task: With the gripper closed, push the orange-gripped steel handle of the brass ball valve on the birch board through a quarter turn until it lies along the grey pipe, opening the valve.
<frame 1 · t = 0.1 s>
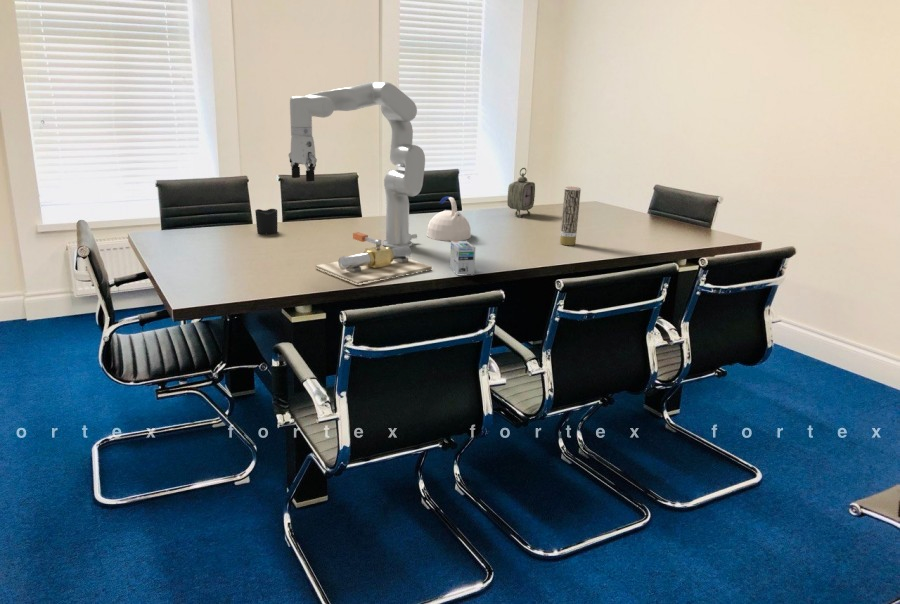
hand: (303, 179, 254), 31 cm above the table, fingers open, 9 cm apart
pen holder: (267, 233, 306), on the table
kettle: (448, 236, 313), on the table
valve handle: (367, 239, 256), point 10 cm above the table, hinge at 0.0°
light bulb box: (461, 272, 257), on the table
valve board: (374, 269, 255), on the table
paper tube: (567, 244, 305), on the table
pipe and valve: (378, 269, 255), resting on valve board
tabletop clock: (519, 215, 364), on the table
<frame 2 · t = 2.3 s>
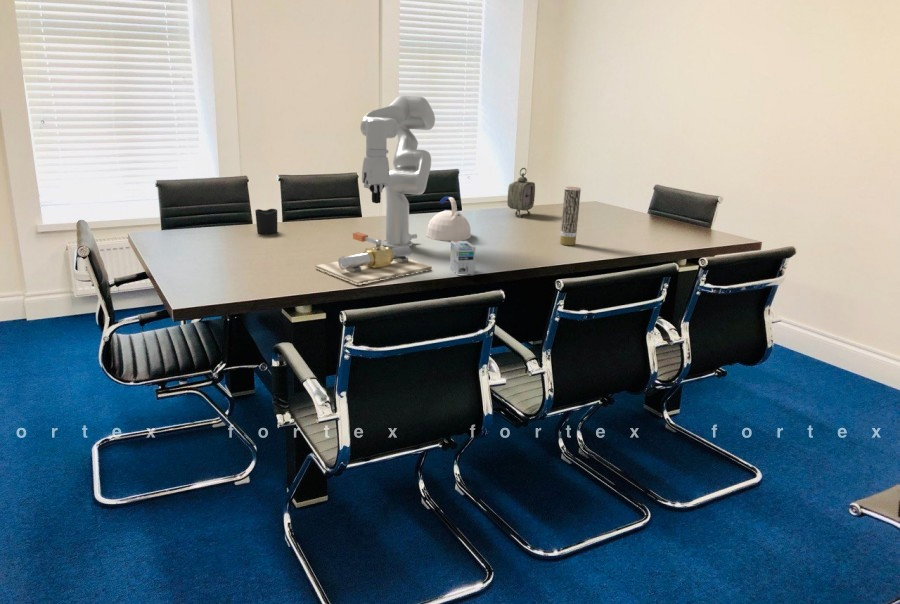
hand: (376, 202, 260), 23 cm above the table, fingers closed
nothing on the table moved.
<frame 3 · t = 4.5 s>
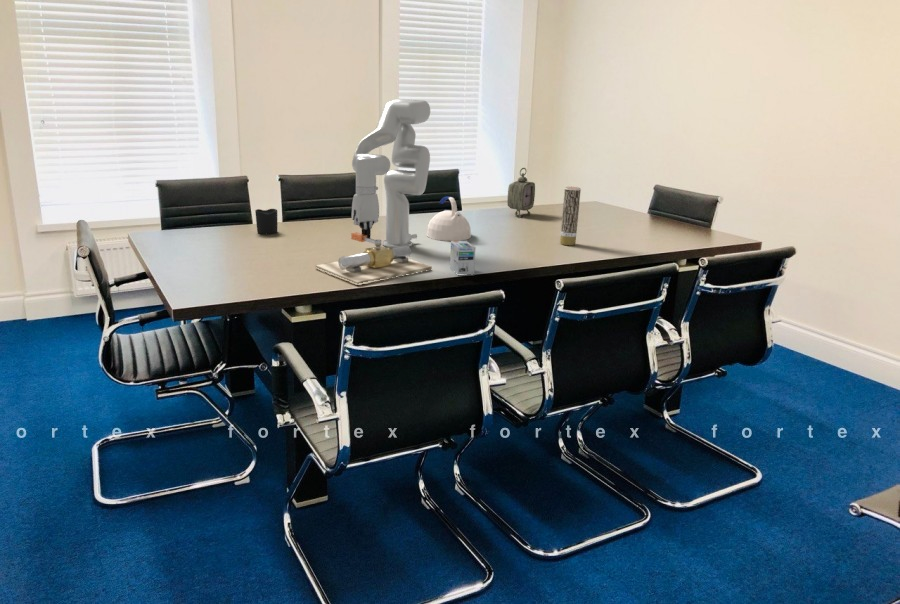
hand: (366, 238, 262), 9 cm above the table, fingers closed
valve handle: (366, 239, 256), point 10 cm above the table, hinge at 3.1°, touching gripper
everything else where it was.
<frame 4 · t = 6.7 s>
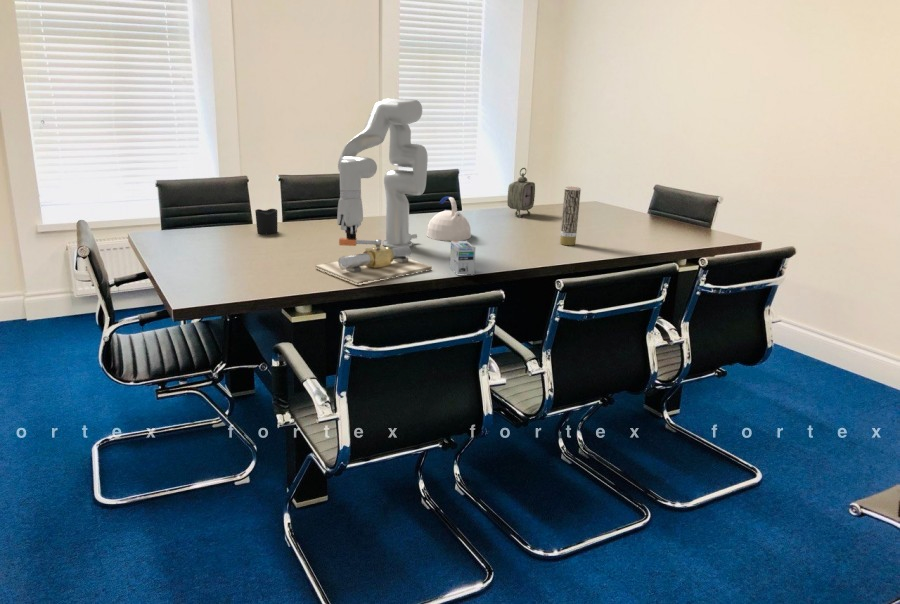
hand: (351, 243, 255), 9 cm above the table, fingers closed
valve handle: (360, 242, 252), point 10 cm above the table, hinge at 48.2°, touching gripper
everything else where it was.
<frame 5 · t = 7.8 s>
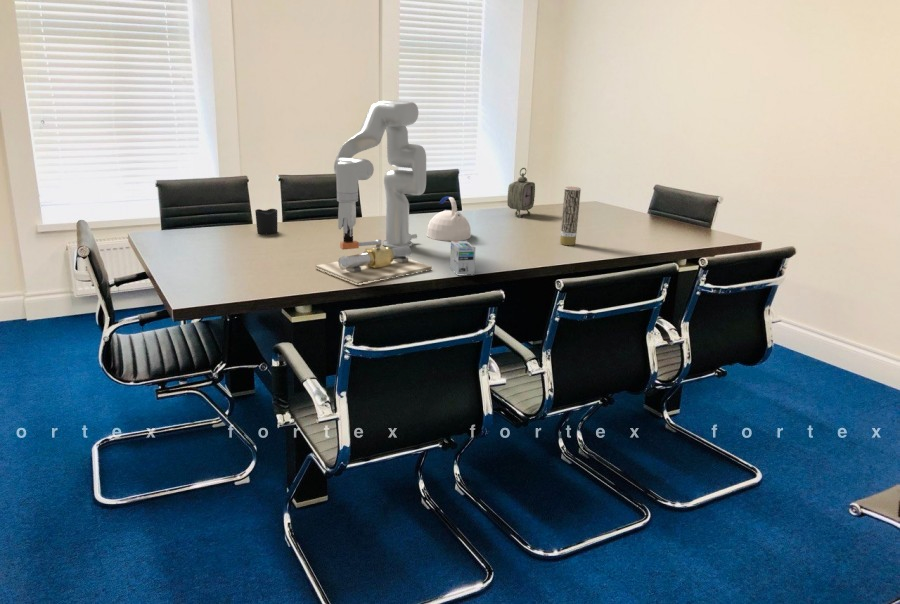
hand: (348, 246, 251), 9 cm above the table, fingers closed
valve handle: (361, 244, 249), point 10 cm above the table, hinge at 74.6°, touching gripper
everything else where it was.
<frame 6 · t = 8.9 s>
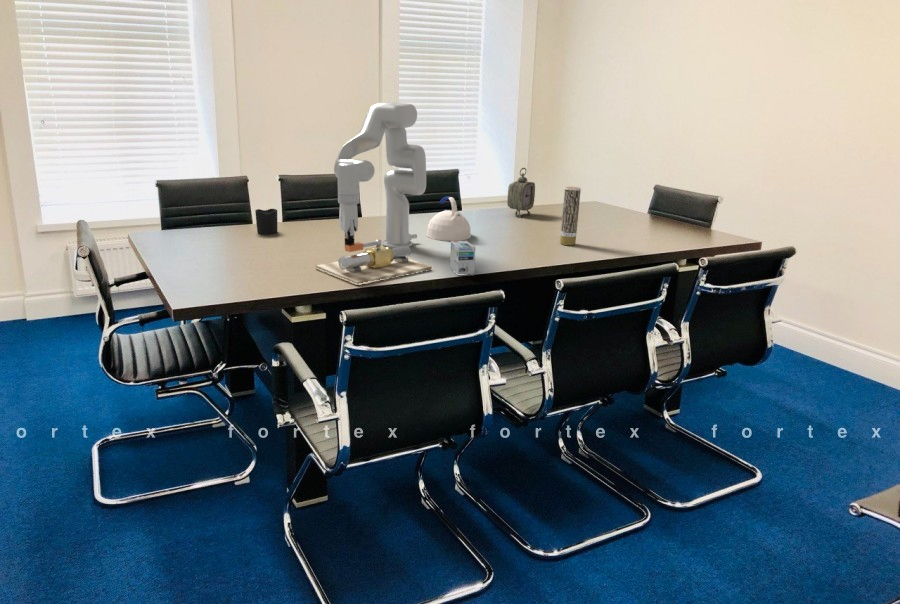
hand: (349, 248, 248), 9 cm above the table, fingers closed
valve handle: (364, 245, 248), point 10 cm above the table, hinge at 92.6°, touching gripper
everything else where it was.
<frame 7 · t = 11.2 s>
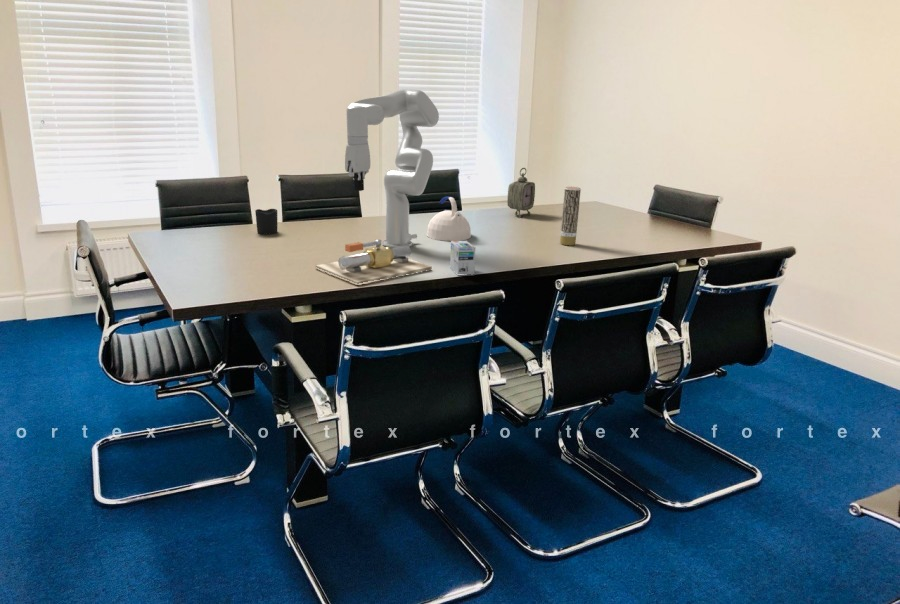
hand: (359, 190, 259), 27 cm above the table, fingers closed
valve handle: (364, 245, 248), point 10 cm above the table, hinge at 92.7°
everything else where it was.
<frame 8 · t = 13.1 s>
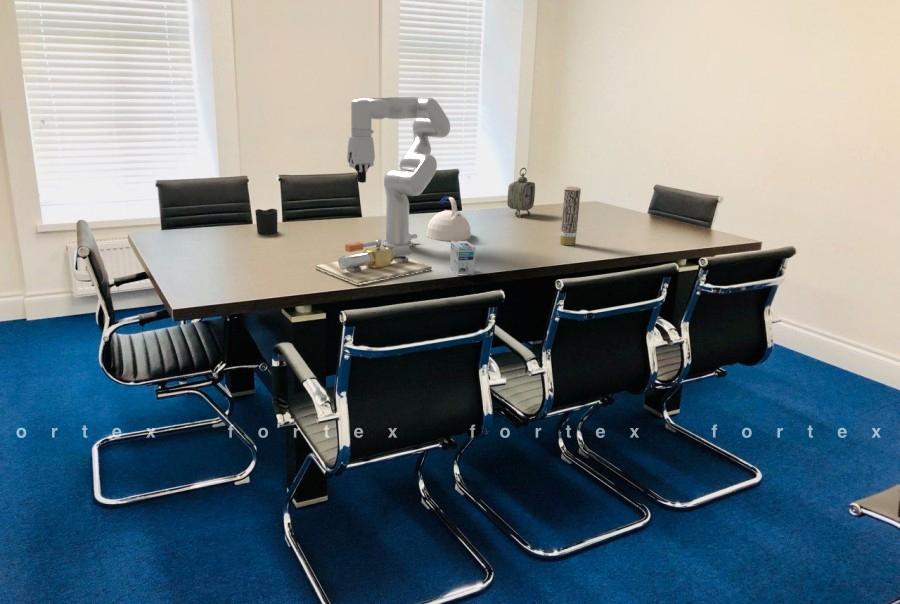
hand: (361, 182, 266), 29 cm above the table, fingers closed
nothing on the table moved.
at the end: valve handle at +93° (first picture: +0°); the gripper is holding nothing; light bulb box moved 0.3 cm from its start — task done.
